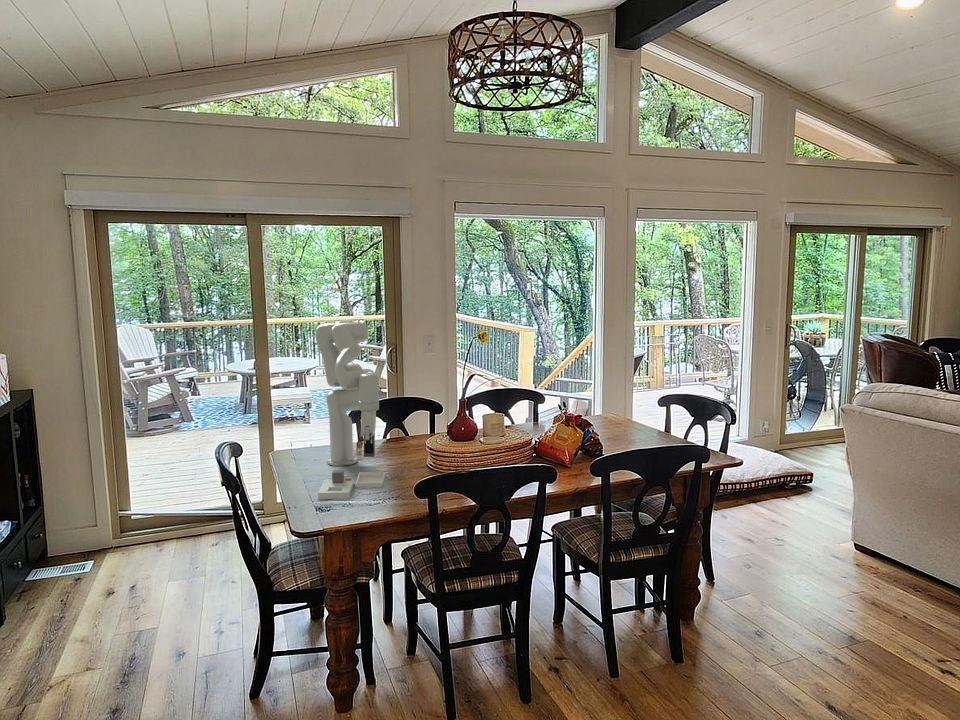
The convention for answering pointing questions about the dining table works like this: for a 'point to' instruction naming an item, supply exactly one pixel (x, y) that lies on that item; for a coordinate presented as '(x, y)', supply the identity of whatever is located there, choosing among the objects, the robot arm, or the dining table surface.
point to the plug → (373, 447)
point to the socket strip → (336, 486)
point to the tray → (370, 479)
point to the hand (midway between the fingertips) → (369, 451)
